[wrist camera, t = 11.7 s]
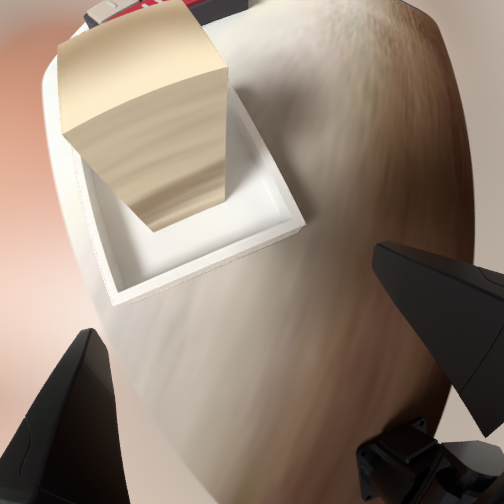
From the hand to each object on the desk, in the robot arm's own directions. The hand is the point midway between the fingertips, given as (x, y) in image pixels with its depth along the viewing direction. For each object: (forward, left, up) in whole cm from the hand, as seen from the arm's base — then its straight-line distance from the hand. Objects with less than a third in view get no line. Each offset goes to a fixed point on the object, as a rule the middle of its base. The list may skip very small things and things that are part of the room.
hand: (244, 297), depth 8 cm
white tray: (+8, +2, -10) cm, 13 cm away
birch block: (+8, +2, -10) cm, 13 cm away
